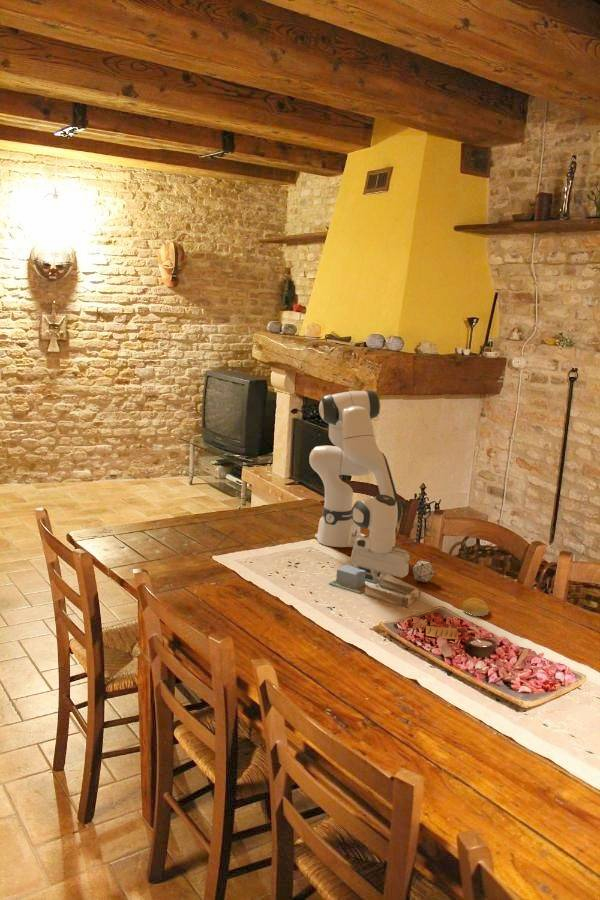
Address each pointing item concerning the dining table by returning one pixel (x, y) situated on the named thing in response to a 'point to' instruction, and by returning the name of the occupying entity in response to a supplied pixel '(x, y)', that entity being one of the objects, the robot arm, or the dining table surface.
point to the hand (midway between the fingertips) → (377, 582)
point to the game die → (423, 571)
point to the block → (350, 576)
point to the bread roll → (475, 607)
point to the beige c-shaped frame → (404, 601)
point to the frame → (348, 588)
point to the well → (368, 572)
